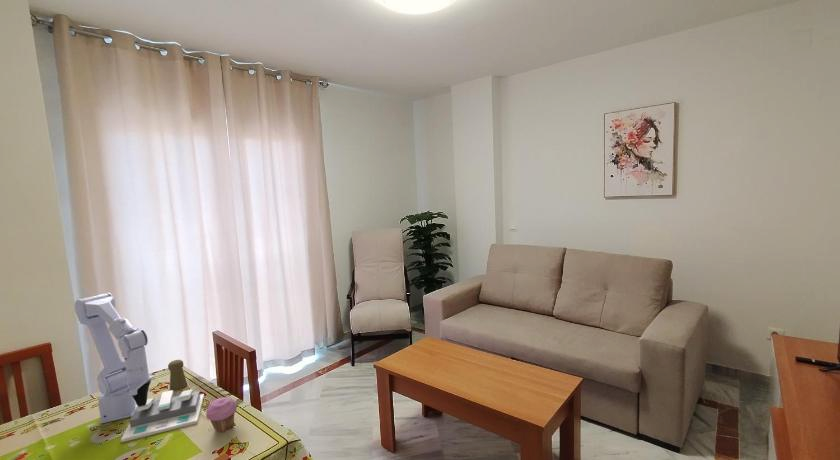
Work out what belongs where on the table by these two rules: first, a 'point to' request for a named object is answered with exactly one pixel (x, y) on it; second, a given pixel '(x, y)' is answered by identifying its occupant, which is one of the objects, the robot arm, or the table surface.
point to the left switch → (147, 406)
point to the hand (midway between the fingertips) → (142, 404)
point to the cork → (177, 375)
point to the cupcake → (221, 413)
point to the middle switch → (165, 400)
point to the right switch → (185, 395)
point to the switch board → (170, 425)
